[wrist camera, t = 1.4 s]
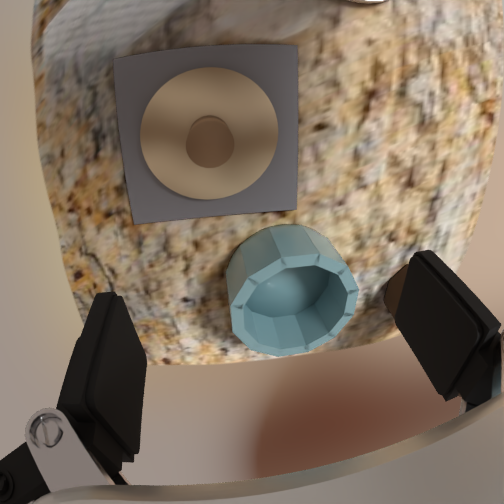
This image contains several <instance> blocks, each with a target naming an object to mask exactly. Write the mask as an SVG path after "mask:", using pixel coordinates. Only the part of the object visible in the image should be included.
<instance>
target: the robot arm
mask: <svg viewBox="0 0 504 504" xmlns="http://www.w3.org/2000/svg"><path fill="white" fill-rule="evenodd" d="M348 1H352V2H357V3H369V4H370V3H380V2H384V1H387V0H348ZM395 323H396V326H397V327H398V329H399V330H400V332H401V333H402V335H403V337H404V338H405V340H406V341H407V343H408V345H409V346H410V348H411V349H412V351H413V352H414V354H415V356H416V357H417V359H418V361H419V362H420V364H421V365H422V367H423V369H424V371H425V372H426V374H427V375H428V377H429V379H430V381H431V382H432V384H433V386H434V387H435V389H436V391H437V392H438V394H440V395H442V396H443V398H444V399H445V401H448V400H450V399H453V398H455V397H457V396H458V394H459V393H460V395H461V396H462V400H461V407H460V412H459V416H458V417H456V418H454V419H452V420H450V421H448V422H446V423H444V424H442V425H439V426H437V427H435V428H433V429H430V430H428V431H426V432H424V433H421V434H419V435H416V436H414V437H411V438H409V439H406V440H404V441H401V442H399V443H396V444H393V445H391V446H388V447H385V448H382V449H379V450H377V451H374V452H371V453H367V454H364V455H361V456H358V457H355V458H351V459H348V460H344V461H340V462H337V463H333V464H329V465H326V466H321V467H317V468H313V469H309V470H304V471H299V472H294V473H289V474H283V475H278V476H272V477H266V478H259V479H252V480H244V481H235V482H225V483H213V484H196V485H175V486H174V485H171V486H149V485H131V484H130V483H129V481H128V480H127V479H126V478H125V477H124V475H123V474H122V473H121V472H120V471H121V470H122V462H134V454H138V453H139V449H140V434H141V433H140V432H141V419H142V407H143V397H144V386H145V377H146V367H147V358H146V354H145V351H144V349H143V347H142V345H141V342H140V340H139V337H138V335H137V333H136V330H135V328H134V325H133V323H132V320H131V318H130V315H129V313H128V310H127V308H126V305H125V302H124V300H123V297H122V296H117V294H116V293H115V292H104V293H97V294H96V296H95V298H94V301H93V303H92V306H91V309H90V311H89V314H88V317H87V320H86V322H85V325H84V328H83V331H82V334H81V336H80V337H79V338H78V340H77V341H76V344H75V347H74V350H73V353H72V356H71V359H70V362H69V365H68V369H67V372H66V375H65V379H64V382H63V385H62V389H61V392H60V396H59V400H58V404H57V407H56V409H54V408H45V409H42V410H40V411H37V412H36V413H35V414H34V415H32V417H31V418H30V419H29V421H28V423H27V425H26V429H25V438H26V442H25V443H23V444H22V445H21V446H19V447H18V448H17V449H15V450H14V451H12V452H11V453H10V454H8V455H7V456H6V457H5V458H3V459H2V460H0V504H504V330H503V331H502V333H501V334H500V333H499V332H498V330H499V328H500V326H501V323H500V322H499V321H498V320H497V319H496V317H495V316H494V315H493V314H492V313H491V312H490V311H489V309H488V308H487V307H486V306H485V305H484V304H483V303H482V302H481V301H480V299H479V298H478V297H477V296H476V295H475V294H474V293H473V292H472V291H471V290H470V289H469V288H468V287H467V285H466V284H465V283H464V282H463V281H462V280H461V279H460V278H459V277H458V276H457V275H456V274H455V273H454V272H453V271H452V270H451V269H450V268H449V267H448V266H447V265H446V264H445V263H444V262H443V261H442V260H441V259H440V258H439V257H438V256H437V255H436V254H435V253H434V252H433V251H431V250H425V251H419V252H416V253H414V255H413V257H411V259H410V261H409V265H408V269H407V273H406V277H405V281H404V285H403V289H402V293H401V296H400V300H399V303H398V307H397V310H396V314H395Z"/></svg>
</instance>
